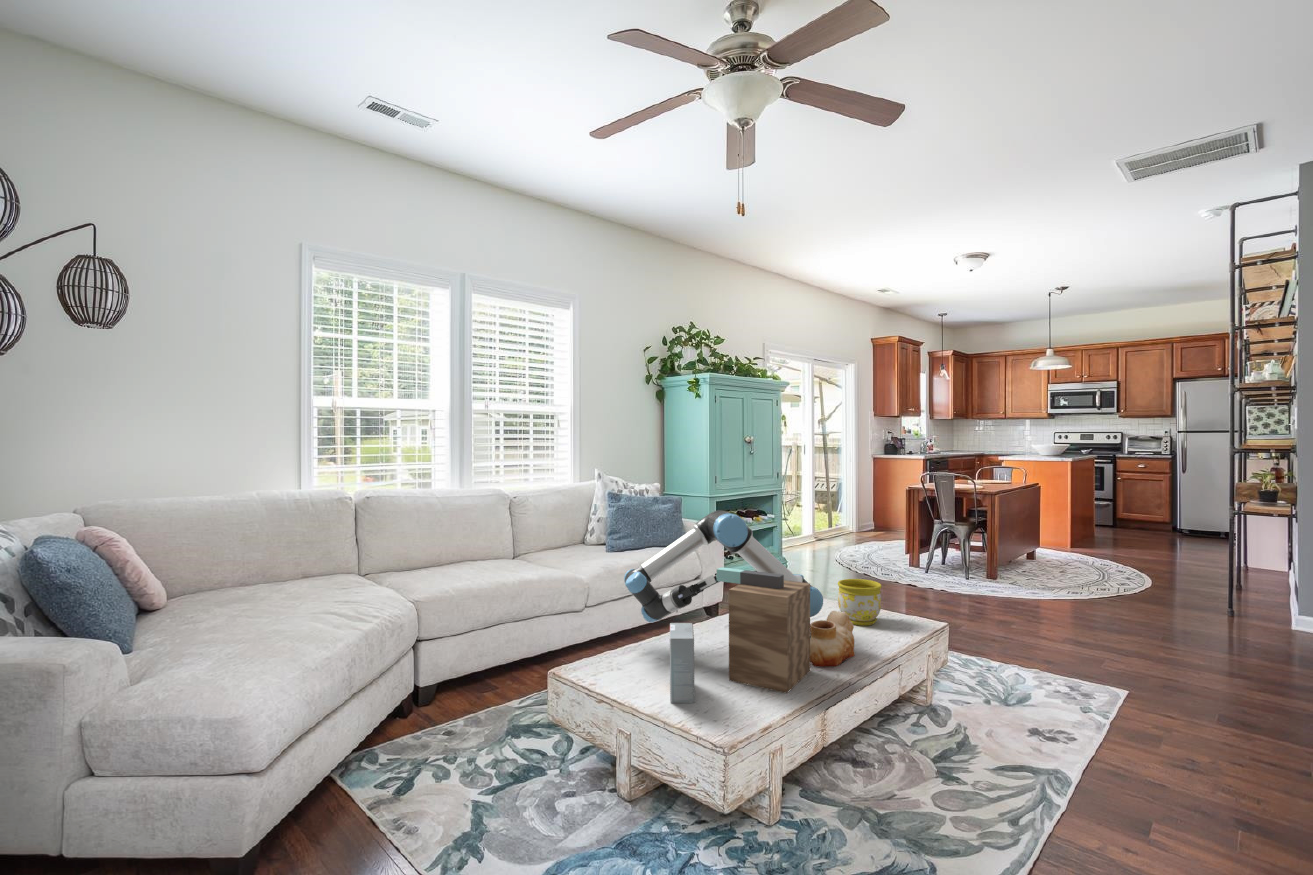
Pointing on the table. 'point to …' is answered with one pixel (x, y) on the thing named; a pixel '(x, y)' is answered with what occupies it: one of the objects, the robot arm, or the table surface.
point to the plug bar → (750, 578)
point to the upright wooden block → (769, 635)
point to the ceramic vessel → (831, 640)
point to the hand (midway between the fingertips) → (723, 574)
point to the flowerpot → (860, 600)
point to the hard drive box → (681, 663)
